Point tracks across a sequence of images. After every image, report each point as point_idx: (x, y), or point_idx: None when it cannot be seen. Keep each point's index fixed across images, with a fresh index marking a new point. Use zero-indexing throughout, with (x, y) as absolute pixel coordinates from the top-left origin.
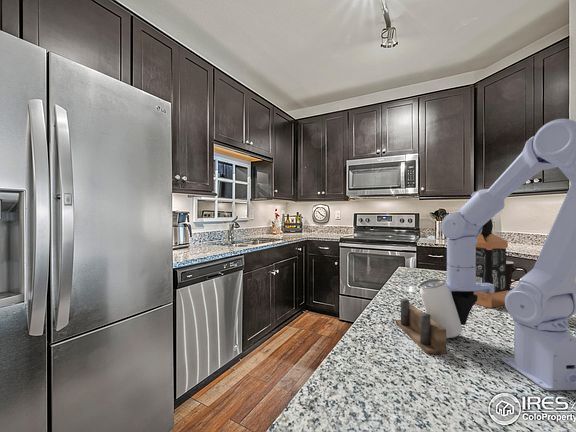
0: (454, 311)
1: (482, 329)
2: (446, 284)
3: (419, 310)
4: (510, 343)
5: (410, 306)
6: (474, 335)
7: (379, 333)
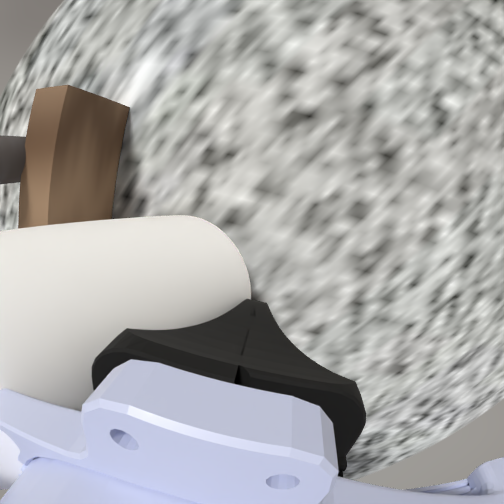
0: None
1: (417, 265)
2: (8, 488)
3: (47, 213)
4: (383, 386)
5: (41, 136)
6: (323, 308)
7: (4, 196)
